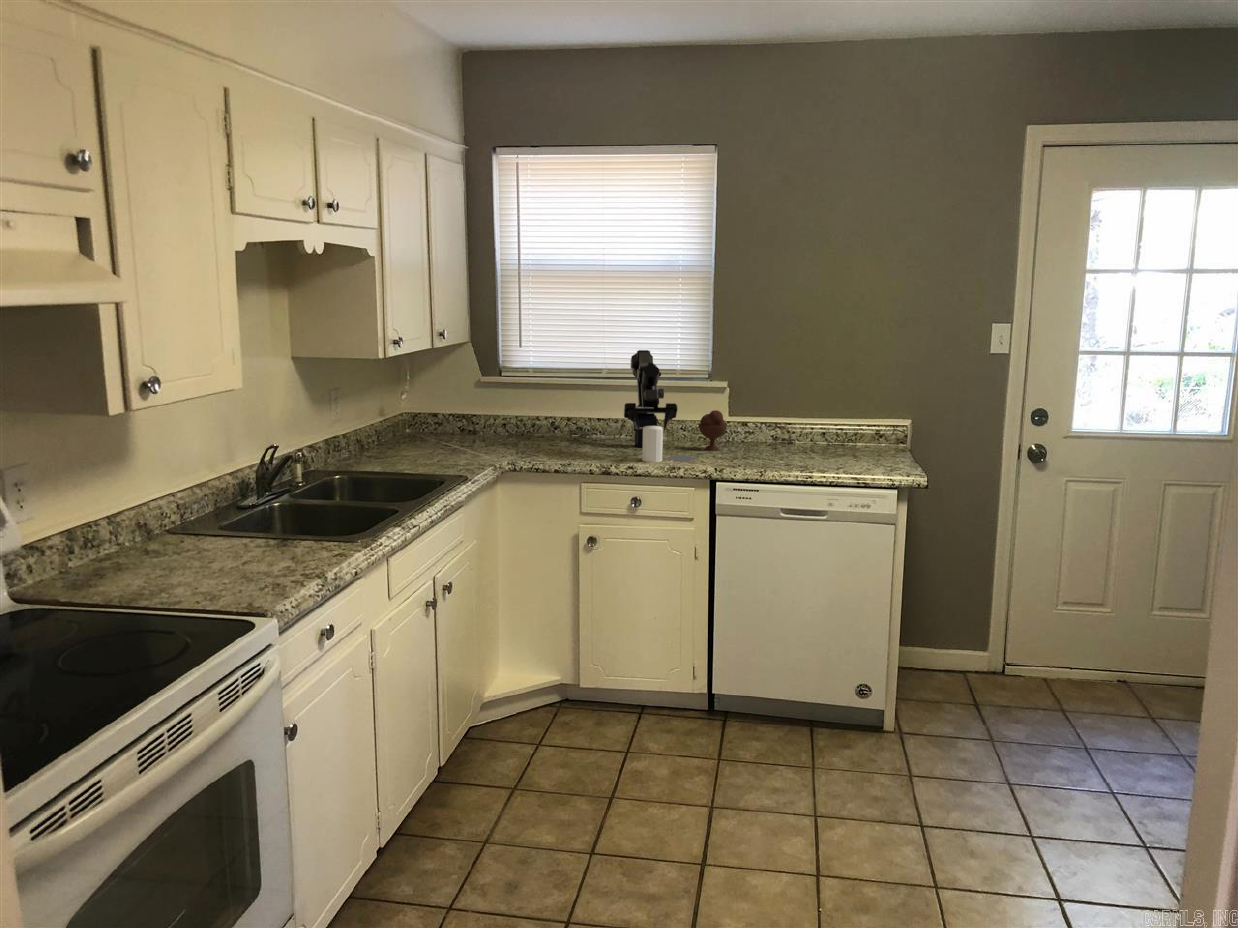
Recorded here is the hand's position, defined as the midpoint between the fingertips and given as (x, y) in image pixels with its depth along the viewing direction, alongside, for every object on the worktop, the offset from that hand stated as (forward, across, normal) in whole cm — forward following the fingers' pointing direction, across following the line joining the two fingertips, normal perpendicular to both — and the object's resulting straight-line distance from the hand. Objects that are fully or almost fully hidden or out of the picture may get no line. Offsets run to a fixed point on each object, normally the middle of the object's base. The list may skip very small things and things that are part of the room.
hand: (651, 429), depth 329 cm
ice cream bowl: (-7, +25, +22) cm, 34 cm away
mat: (+8, +11, +7) cm, 15 cm away
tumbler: (+10, 0, +5) cm, 11 cm away
